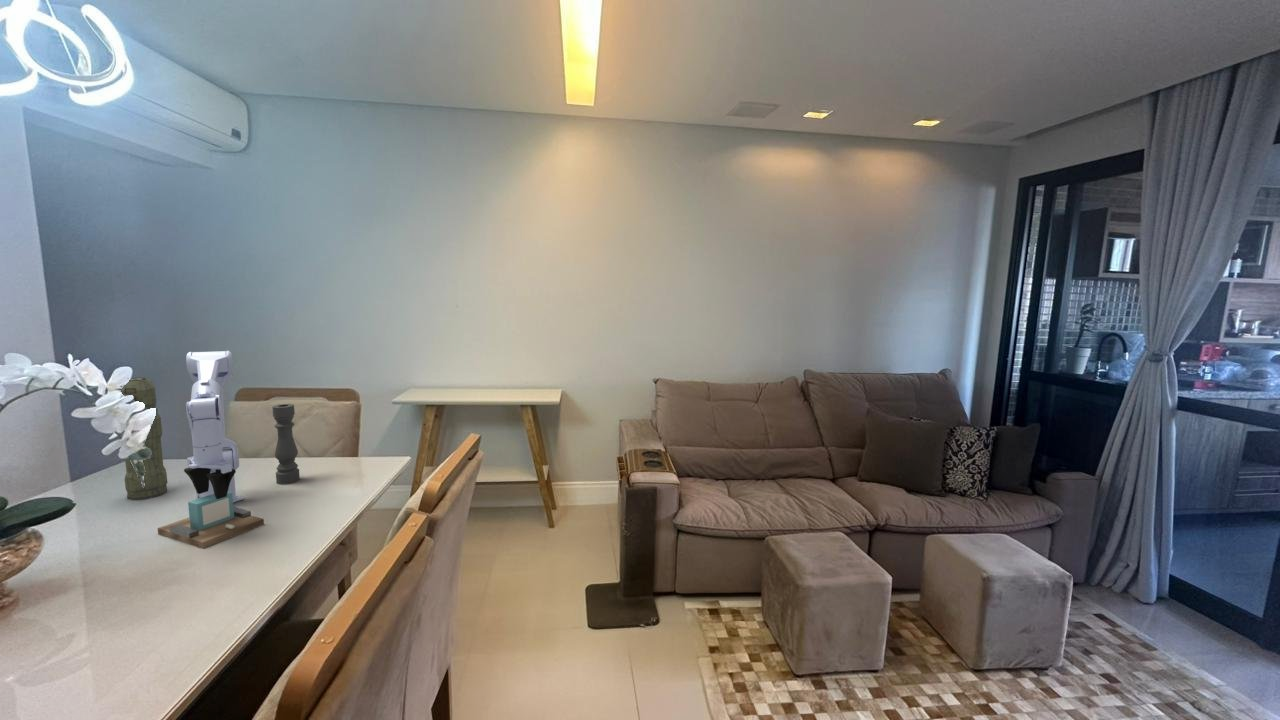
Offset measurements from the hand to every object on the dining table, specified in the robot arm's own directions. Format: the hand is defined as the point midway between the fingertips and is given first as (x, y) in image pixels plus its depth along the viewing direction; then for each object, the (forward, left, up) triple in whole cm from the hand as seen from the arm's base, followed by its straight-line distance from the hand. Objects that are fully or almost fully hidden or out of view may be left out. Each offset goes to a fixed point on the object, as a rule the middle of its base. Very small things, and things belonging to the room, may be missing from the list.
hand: (212, 495), depth 130 cm
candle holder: (-15, +29, -9) cm, 34 cm away
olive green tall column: (-41, +5, -9) cm, 42 cm away
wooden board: (0, -1, -9) cm, 9 cm away
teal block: (0, 0, -7) cm, 7 cm away
